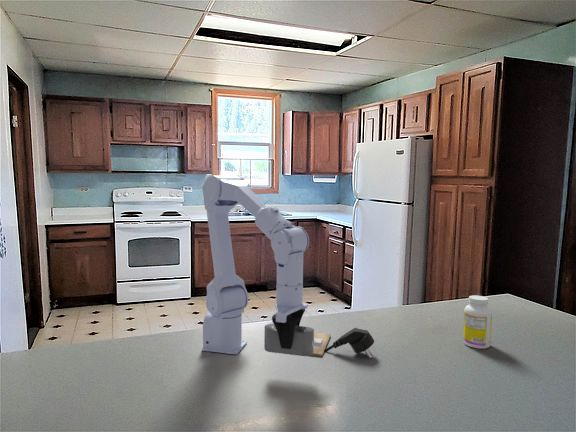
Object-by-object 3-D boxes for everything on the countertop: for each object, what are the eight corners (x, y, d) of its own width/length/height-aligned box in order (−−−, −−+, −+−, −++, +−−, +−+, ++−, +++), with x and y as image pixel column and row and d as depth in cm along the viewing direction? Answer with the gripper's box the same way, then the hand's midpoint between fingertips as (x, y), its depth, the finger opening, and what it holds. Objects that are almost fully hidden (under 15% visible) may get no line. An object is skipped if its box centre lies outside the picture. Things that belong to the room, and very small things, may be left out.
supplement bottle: (474, 338, 114) (477, 293, 113) (495, 347, 108) (498, 299, 107) (457, 342, 111) (459, 295, 110) (478, 351, 105) (480, 302, 104)
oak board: (267, 350, 104) (267, 348, 104) (281, 331, 118) (281, 329, 118) (322, 356, 101) (322, 354, 101) (330, 336, 114) (330, 334, 114)
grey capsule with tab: (262, 351, 90) (262, 328, 89) (267, 344, 93) (267, 322, 93) (320, 358, 86) (320, 335, 86) (323, 350, 90) (323, 328, 90)
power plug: (324, 343, 107) (363, 320, 104) (341, 368, 107) (380, 345, 104) (322, 352, 101) (363, 328, 99) (339, 378, 101) (380, 354, 99)
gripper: (300, 293, 81) (299, 359, 82) (314, 277, 95) (312, 334, 96) (266, 290, 83) (265, 355, 84) (284, 274, 97) (283, 331, 98)
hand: (288, 344), depth 90 cm, fingers closed on grey capsule with tab, 4 cm apart
